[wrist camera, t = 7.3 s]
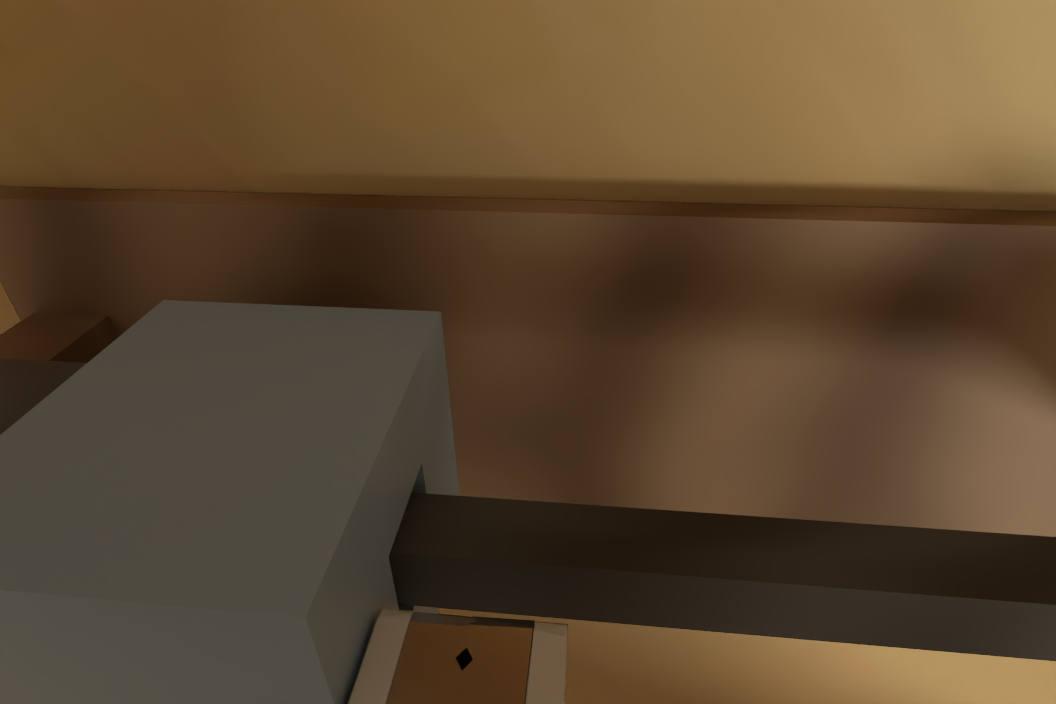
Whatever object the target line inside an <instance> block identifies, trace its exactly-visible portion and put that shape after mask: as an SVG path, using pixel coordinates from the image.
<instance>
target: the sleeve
mask: <svg viewBox="0 0 1056 704" xmlns="http://www.w3.org/2000/svg"><path fill="white" fill-rule="evenodd" d="M411 492H412V493H427V494H441V495H456V496H459V486H458V476H457V466H456V456H455V447H454V437H453V427H452V417H451V407H450V397H449V387H448V377H447V367H446V357H445V347H444V337H443V327H442V317H441V312H440V311H416V310H391V309H367V308H343V307H319V306H295V305H270V304H246V303H222V302H198V301H174V300H163V301H162V302H160V303H159V304H158V305H157V306H156V307H154V308H153V309H152V310H151V311H150V312H148V313H147V314H146V315H145V316H144V317H142V318H141V319H140V320H139V321H137V322H136V323H135V324H134V325H133V326H131V327H130V328H129V329H128V330H127V331H125V332H124V333H123V334H122V335H121V336H119V337H118V338H117V339H116V340H115V341H113V342H112V343H111V344H110V345H109V346H107V347H106V348H105V349H104V350H102V351H101V352H100V353H99V354H98V355H96V356H95V357H94V358H93V359H92V360H90V361H89V362H88V363H87V364H86V365H84V366H83V367H82V368H81V369H80V370H78V371H77V372H76V373H75V374H73V375H72V376H71V377H70V378H69V379H67V380H66V381H65V382H64V383H63V384H61V385H60V386H59V387H58V388H57V389H55V390H54V391H53V392H52V393H51V394H49V395H48V396H47V397H46V398H44V399H43V400H42V401H41V402H40V403H38V404H37V405H36V406H35V407H34V408H32V409H31V410H30V411H29V412H28V413H26V414H25V415H24V416H23V417H22V418H20V419H19V420H18V421H17V422H15V423H14V424H13V425H12V426H11V427H9V428H8V429H7V430H6V431H5V432H3V433H2V434H1V435H0V704H348V702H349V699H350V696H351V693H352V690H353V687H354V684H355V681H356V678H357V675H358V672H359V669H360V666H361V663H362V660H363V657H364V655H365V652H366V649H367V646H368V643H369V640H370V637H371V634H372V631H373V628H374V625H375V622H376V619H377V618H378V616H379V615H380V613H381V611H382V610H383V609H394V610H406V611H416V612H423V613H434V614H437V613H438V609H439V608H435V607H424V606H412V605H401V604H398V602H397V597H396V592H395V587H394V582H393V577H392V572H391V567H390V562H389V554H390V551H391V549H392V546H393V543H394V540H395V537H396V534H397V532H398V529H399V526H400V523H401V520H402V517H403V515H404V512H405V509H406V506H407V503H408V500H409V498H410V495H411Z"/></svg>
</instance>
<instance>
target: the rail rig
mask: <svg viewBox="0 0 1056 704" xmlns="http://www.w3.org/2000/svg"><path fill="white" fill-rule="evenodd" d="M0 281H1V283H2V285H3V287H4V289H5V291H6V293H7V295H8V297H9V298H10V300H11V302H12V304H13V306H14V308H15V310H16V312H17V314H18V316H19V318H20V320H21V322H19V323H18V324H16V325H15V326H13V327H12V328H10V329H9V330H7V331H6V332H4V333H3V334H1V335H0V435H1V434H2V433H3V432H5V431H6V430H7V429H8V428H9V427H11V426H12V425H13V424H14V423H15V422H17V421H18V420H19V419H20V418H22V417H23V416H24V415H25V414H26V413H28V412H29V411H30V410H31V409H32V408H34V407H35V406H36V405H37V404H38V403H40V402H41V401H42V400H43V399H44V398H46V397H47V396H48V395H49V394H51V393H52V392H53V391H54V390H55V389H57V388H58V387H59V386H60V385H61V384H63V383H64V382H65V381H66V380H67V379H69V378H70V377H71V376H72V375H73V374H75V373H76V372H77V371H78V370H80V369H81V368H82V367H83V366H84V365H86V364H87V363H88V362H89V361H90V360H92V359H93V358H94V357H95V356H96V355H98V354H99V353H100V352H101V351H102V350H104V349H105V348H106V347H107V346H109V345H110V344H111V343H112V342H113V341H115V340H116V339H117V338H118V337H119V336H121V335H122V334H123V333H124V332H125V331H127V330H128V329H129V328H130V327H131V326H133V325H134V324H135V323H136V322H137V321H139V320H140V319H141V318H142V317H144V316H145V315H146V314H147V313H148V312H150V311H151V310H152V309H153V308H154V307H156V306H157V305H158V304H159V303H160V302H162V301H163V300H174V301H198V302H222V303H246V304H270V305H295V306H319V307H343V308H367V309H391V310H416V311H440V312H441V317H442V327H443V337H444V347H445V357H446V367H447V377H448V387H449V397H450V407H451V417H452V427H453V437H454V447H455V456H456V466H457V476H458V486H459V496H456V495H441V494H427V493H412V492H411V495H410V498H409V500H408V503H407V506H406V509H405V512H404V515H403V517H402V520H401V523H400V526H399V529H398V532H397V534H396V537H395V540H394V543H393V546H392V549H391V551H390V554H389V562H390V567H391V572H392V577H393V582H394V587H395V592H396V597H397V602H398V604H401V605H412V606H424V607H435V608H447V609H459V610H470V611H482V612H493V613H505V614H517V615H528V616H540V617H551V618H563V619H574V620H586V621H598V622H609V623H621V624H632V625H644V626H655V627H667V628H679V629H690V630H702V631H713V632H725V633H737V634H748V635H760V636H771V637H783V638H794V639H806V640H818V641H829V642H841V643H852V644H864V645H876V646H887V647H899V648H910V649H922V650H933V651H945V652H957V653H968V654H980V655H991V656H1003V657H1015V658H1026V659H1038V660H1049V661H1056V212H1040V211H999V210H957V209H915V208H874V207H832V206H790V205H748V204H707V203H665V202H623V201H581V200H540V199H498V198H456V197H415V196H373V195H331V194H289V193H248V192H206V191H164V190H122V189H81V188H39V187H0Z"/></svg>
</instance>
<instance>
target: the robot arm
mask: <svg viewBox="0 0 1056 704" xmlns="http://www.w3.org/2000/svg"><path fill="white" fill-rule="evenodd" d="M567 641H568V624H560V623H546V622H535V621H531V620H516V619H502V618H487V617H467V616H456V615H445V614H434V613H423V612H416V611H406V610H394V609H383V610H382V611H381V613H380V615H379V616H378V618H377V619H376V622H375V625H374V628H373V631H372V634H371V637H370V640H369V643H368V646H367V649H366V652H365V655H364V657H363V660H362V663H361V666H360V669H359V672H358V675H357V678H356V681H355V684H354V687H353V690H352V693H351V696H350V699H349V702H348V704H565V697H566V669H567Z"/></svg>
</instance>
